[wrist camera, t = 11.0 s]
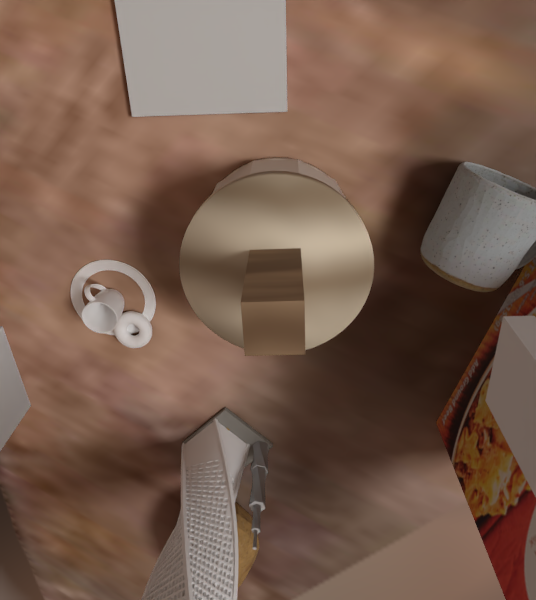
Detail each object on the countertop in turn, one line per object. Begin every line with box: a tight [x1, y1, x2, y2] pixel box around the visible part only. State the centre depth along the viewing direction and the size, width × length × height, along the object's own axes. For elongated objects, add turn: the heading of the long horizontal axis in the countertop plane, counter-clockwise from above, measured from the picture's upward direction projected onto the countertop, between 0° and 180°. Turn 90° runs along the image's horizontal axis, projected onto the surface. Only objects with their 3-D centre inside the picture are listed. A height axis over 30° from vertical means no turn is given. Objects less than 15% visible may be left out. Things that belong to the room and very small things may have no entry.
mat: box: [115, 0, 287, 117], centre depth 36 cm, size 12×12×1 cm
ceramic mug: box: [420, 162, 536, 292], centre depth 39 cm, size 11×8×8 cm
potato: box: [235, 502, 259, 588], centre depth 57 cm, size 10×14×8 cm
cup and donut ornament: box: [70, 260, 156, 348], centre depth 46 cm, size 9×8×4 cm
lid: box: [179, 171, 374, 356], centre depth 34 cm, size 14×14×11 cm
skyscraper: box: [142, 407, 273, 600], centre depth 42 cm, size 8×8×28 cm
